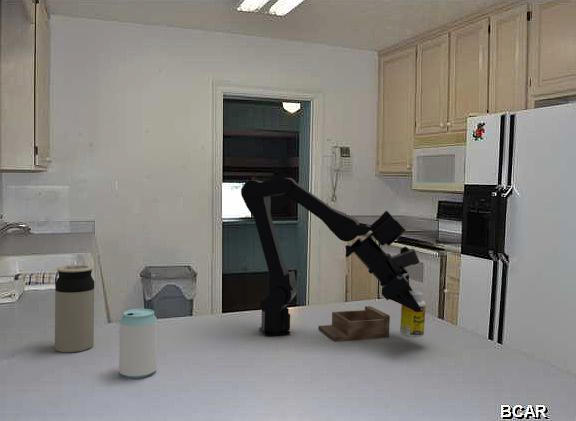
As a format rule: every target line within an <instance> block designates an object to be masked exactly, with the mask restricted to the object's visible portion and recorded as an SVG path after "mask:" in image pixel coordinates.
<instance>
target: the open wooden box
mask: <svg viewBox="0 0 576 421" xmlns="http://www.w3.org/2000/svg"><path fill="white" fill-rule="evenodd" d="M331 316H332V317H331V324H327V325H318V328H317V329H319V330H318V331H320V332H321V333H322V332H323V333H322V334H324V335H325V336H326V335H327V336H326V337H328V338H329V339H330V340H332V341H333V342H343V341H344V342H345V341H346V342H347V341H358V340H370V339H382V338H390V320H391V317H390V316H391V315H389V314H388V313H386V312H384V311H381V310H379V309H377V308H375V307H373V306H371V305H368V306H367V305H365V306H364V309H357V310H356V309H355V310H343V311H331Z"/></svg>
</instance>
